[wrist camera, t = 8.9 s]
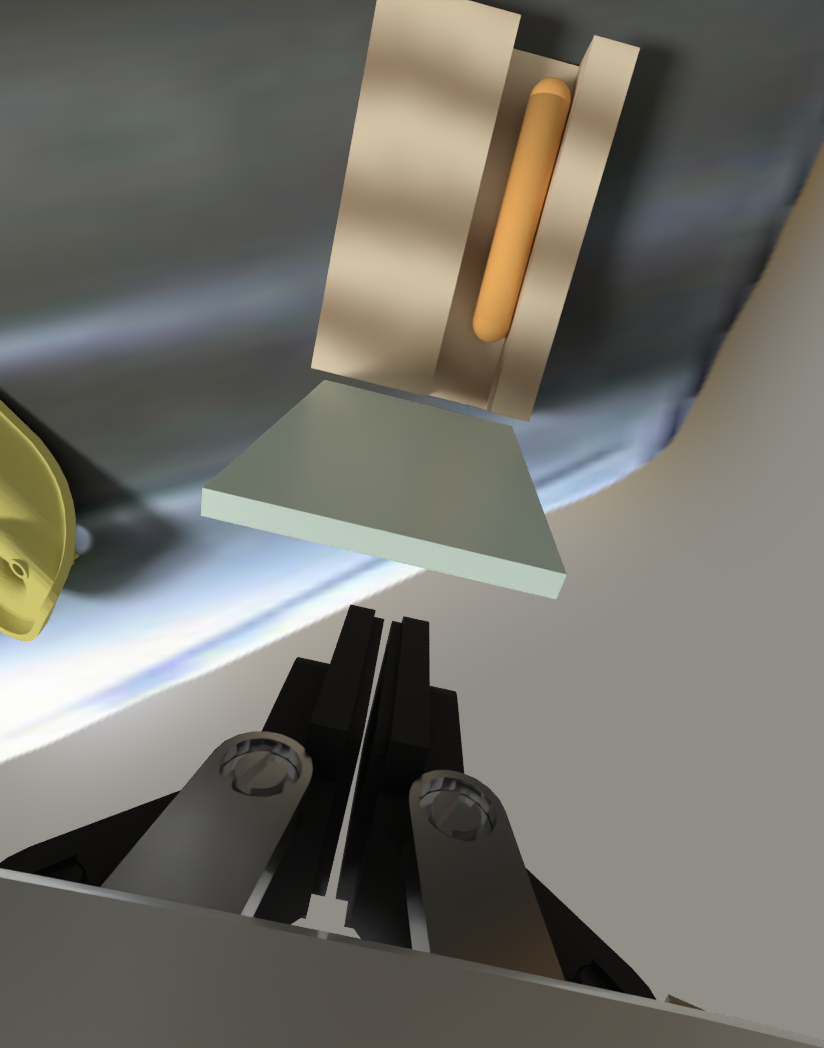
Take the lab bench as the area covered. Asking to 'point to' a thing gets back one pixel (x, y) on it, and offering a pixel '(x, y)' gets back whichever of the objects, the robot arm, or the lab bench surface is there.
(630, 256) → the lab bench surface
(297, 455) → the plate
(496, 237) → the rod
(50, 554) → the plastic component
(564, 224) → the base
